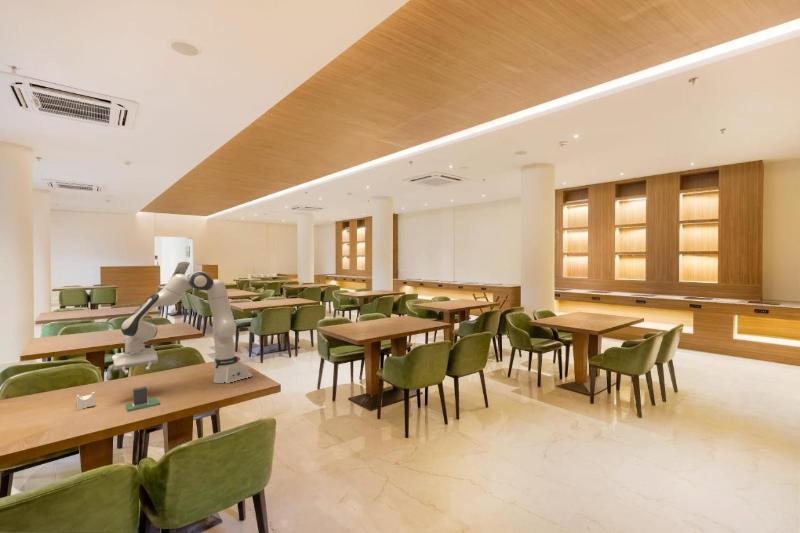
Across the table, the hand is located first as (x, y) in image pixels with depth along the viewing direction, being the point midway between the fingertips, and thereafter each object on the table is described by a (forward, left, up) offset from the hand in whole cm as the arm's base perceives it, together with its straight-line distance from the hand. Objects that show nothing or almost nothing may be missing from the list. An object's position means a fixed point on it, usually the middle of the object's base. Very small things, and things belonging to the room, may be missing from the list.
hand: (137, 372), depth 206 cm
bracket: (+22, -12, -16) cm, 30 cm away
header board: (-1, +9, -16) cm, 18 cm away
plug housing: (0, +9, -15) cm, 17 cm away
